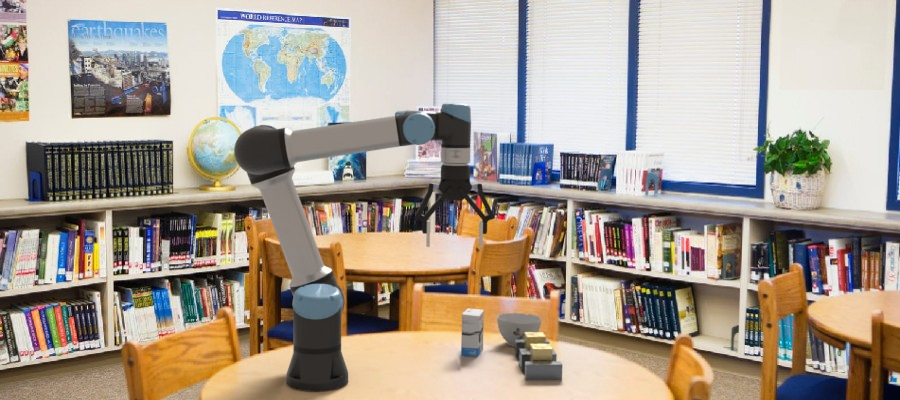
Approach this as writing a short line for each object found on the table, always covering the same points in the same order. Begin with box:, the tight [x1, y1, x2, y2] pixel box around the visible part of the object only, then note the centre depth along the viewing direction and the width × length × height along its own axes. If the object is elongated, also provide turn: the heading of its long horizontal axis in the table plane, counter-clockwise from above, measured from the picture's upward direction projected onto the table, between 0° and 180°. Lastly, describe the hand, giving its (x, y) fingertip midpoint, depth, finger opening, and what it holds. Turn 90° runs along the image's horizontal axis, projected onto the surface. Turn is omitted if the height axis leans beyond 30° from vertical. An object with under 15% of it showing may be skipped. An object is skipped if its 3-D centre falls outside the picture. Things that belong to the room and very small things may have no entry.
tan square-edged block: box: [524, 331, 547, 349], centre depth 263 cm, size 5×5×7 cm
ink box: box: [460, 308, 485, 358], centre depth 270 cm, size 8×5×12 cm, turn 168°
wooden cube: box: [530, 343, 554, 361], centre depth 252 cm, size 5×5×7 cm
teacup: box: [496, 312, 542, 347], centre depth 282 cm, size 15×12×8 cm
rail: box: [514, 339, 563, 381], centre depth 258 cm, size 9×24×4 cm, turn 3°
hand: (454, 246), depth 255 cm, fingers open, 13 cm apart
